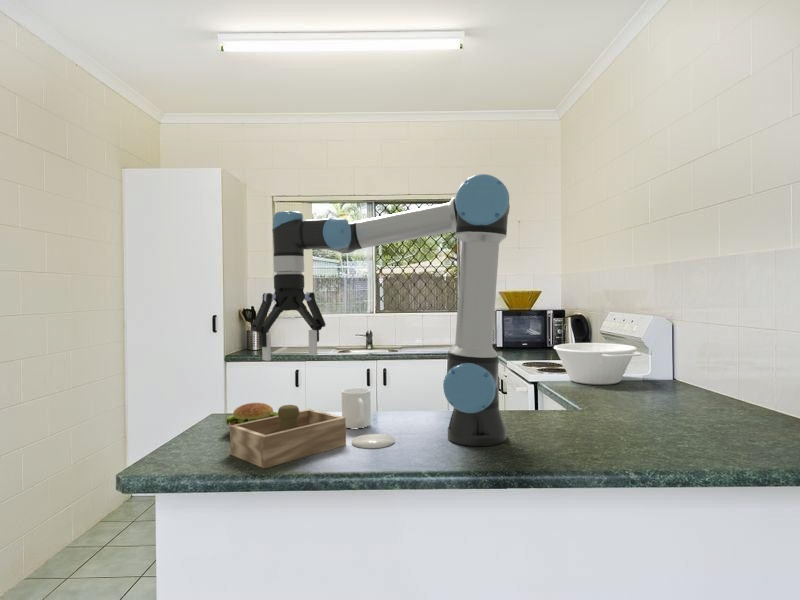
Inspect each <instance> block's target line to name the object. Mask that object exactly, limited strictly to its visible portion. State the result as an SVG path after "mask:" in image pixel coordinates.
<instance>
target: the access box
mask: <svg viewBox="0 0 800 600" xmlns="http://www.w3.org/2000/svg"><path fill="white" fill-rule="evenodd" d="M297 421H298V427H297V428H293V429H289V430H285V431H281V432H279V428H280V418H279V417H278V416H273V417H269V418H264V419H259V420H255V421H250V422H245V423H240V424H236V425H229V446H230V447H229V449H230V451H229V453H230V454H229V455H231V456H233V457H236V458H239V459H240V460H243V461H245V462H248V463H250V464H252V465H256V466H257V467H260V468H262V469H264V468H265V469H267V468H271V467H274V466H278V465H282V464H285V463H289V462H292V461H295V460H299V459H303V458H306V457H310V456H313V455H315V454H320V453H324V452H326V451H329V450H333V449H337V448H338V449H339V448H341V447H344V446H347V433H346V432H347V431H346V422H345V417H342V415H341V416H340V415H336V414H331V413H328V412H323V411H320V410H317V409H316V410H315V409H311V408H308V409H303V410H299V416H298V418H297Z"/></svg>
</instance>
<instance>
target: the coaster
mask: <svg viewBox="0 0 800 600" xmlns="http://www.w3.org/2000/svg"><path fill="white" fill-rule="evenodd" d="M395 441H396V440H395V437H394V436H391V435H389V434H382V433H370V434H369V433H368V434H362V435H359V436H355V437H353V438H352V439H351V444H352V445H353V446H354V447H357V448H359V449H368V450H369V449H382V448H387V447H390V446H392V445H394V444H395ZM393 443H394V444H393Z"/></svg>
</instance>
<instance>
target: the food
mask: <svg viewBox="0 0 800 600" xmlns="http://www.w3.org/2000/svg"><path fill="white" fill-rule="evenodd" d="M273 416H278V412H276V411H274V409H273V407H272V406H270V404H267V403H261V402H249V403H245V404H242V405H240V406H238V407H236V408H235V409H234V410H233V413H231V415H229V416H228V417H227V416H225V421H226V423H225V424H226V425H227V426H231V425H236V424H240V423H245V422H250V421H255V420H259V419H264V418H269V417H273ZM229 424H230V425H229Z"/></svg>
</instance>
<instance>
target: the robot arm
mask: <svg viewBox="0 0 800 600" xmlns="http://www.w3.org/2000/svg"><path fill="white" fill-rule="evenodd" d="M509 213H510V193H509V190H508V188H507V186H506V185H505V184H504V182H502V181H501V180H500V179H499V178H498V177H496V176H493V175H491V174H486V173H479V174H475V175H472V176H470V177H467V179H466V180H464V181H463V182H462V183H461V184H460V185H459V187H458V189H457V192H456V195H455V197H452V198H451V200H449V202H445V203H441V204H435V205H431V206H426V207H425V206H424V207H420V208H415V209H410V210H406V211H400V212H396V213H392V214H385V215H382V216H381V215H380V216H376V217H370V218H365V219H361V220H356V221H351V222H349V221H348V219H346V218H343V217H327V218H326V217H325V218H313V219H306V218H304V215H303V213H302V212H300V211H296V210H295V211H293V210H292V211H291V210H283V211H276V212H275V213H274V214H273V217H272V218H273V219H272V229H271V230H272V240H273V241H272V242H273V272H274V273H275V274H274V275H273V289H274V293H272V292H271V293H270V292H263V294H262V299H261V300H262V303H261V305H260V306H259V309H258V311H257V314H256V316H255V318H254V321H253V322H252V323H253V324H252V325H251V328H250V330H251V331H252V332H255V333H257V334H258V345H259V347H260V348H261V351H262V352H261V353H262V357H261V359H262V360H263V361H267V362H269V361H272V353H271V352H272V351H271V349H272V348H271V346H272V345H271V333H268V332H269V331H270V330H271V328H272V326H273V325H274V323H275V322H276V320H277V319H279V316H280V315H281V314H282V313H283V312H284V311H297V312H298V314H299V315H300V316H301V317H302V318H303V320H304V321H305V322H306V324H307V325H308V326H309V328H310V329H308V355H309V356H318V342H320V330H321V331H322V329H323V328H325V327H326V322H325V319H324V318H323V315H322V312H321V310H320V308H319V306H318V303H317V301H316V294H315V292H313V291H312V292H311V291H310V292H307V291H306V293H305V292H304V289H305V275H304V274H303V273H304V272H305V258H304V257H305V251H304V250H328V251H333V252H334V251H335V252H337V253H341V254H350V253H353V252H355V251H356V250H362V249H366V248H372V247H377V246H383V245H389V244H393V243H399V242H405V241H410V240H415V239H421V238H427V237H433V236H437V235H443V234H448V233H453V232H454V233H455V236H456V237H457V238H458V239H459V240H460V242H461V249H460V267H459V280H458V281H459V283H458V298H457V310H456V312H457V313H456V315H457V316H456V327H455V328H456V329H455V343H454V345H453V346H451V347H450V348H449V349H448V353H447V364H446V365H447V366H446V367H447V368H446V374H445V376H444V379H443V385H442V386H443V387H442V388H443V393H444V397H445V399H446V401H447V402H448V403H449V404H450V405H451V407H453V410H452V413H451V417H450V419H449V424H448V427H447V439H448V440H449V441H450V442H452V443H454V444H456V445H457V444H458V445H463V446H470V447H471V446H472V447H486V446H489V447H490V446H496V445H500V444H502V443H504V442H506V440H507V429H506V427H505V422H504V421H503V417H502V414H501V411H500V404H499V402H500V400H499V399H500V396H499V395H500V394H499V391H500V390H499V388H500V387H499V384H500V383H499V363H500V361H499V360H500V359H499V353H497V351H496V350H495V349H494V347H493V338H494V326H495V325H494V324H495V323H494V322H495V308H496V295H497V279H498V265H499V253H500V252H499V250H500V244H501V243H502V242H503V241H504V240H505V239H506V238H507V234H508V233H507V231H508V218H509ZM304 301H305V302H306V305H307V306H308V308H307V306H306V305H305V303H304ZM273 302H275V304H274V305H273V307H272V303H273ZM271 307H272V309H271V311H269V310H270V308H271ZM268 313H269V314H268Z"/></svg>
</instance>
